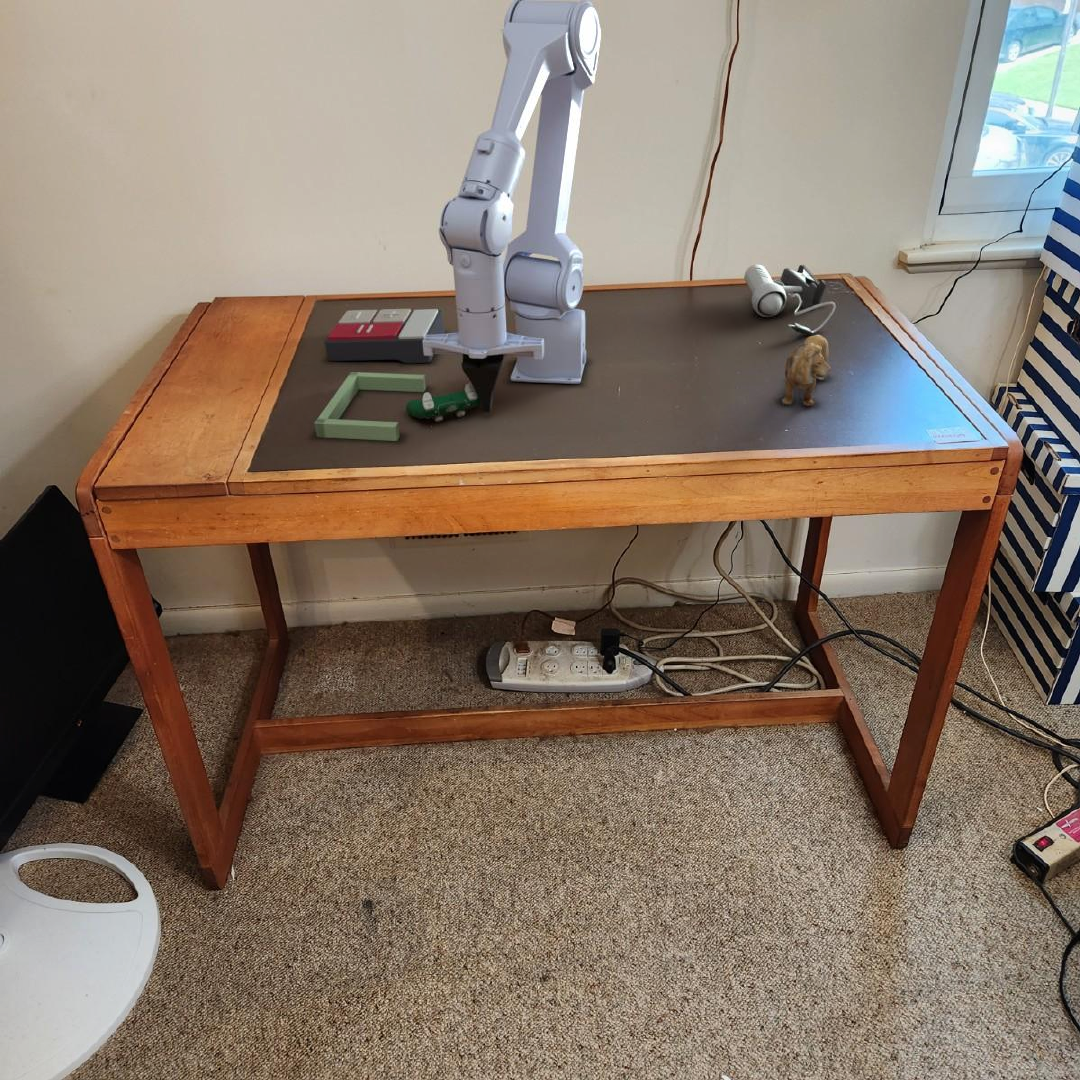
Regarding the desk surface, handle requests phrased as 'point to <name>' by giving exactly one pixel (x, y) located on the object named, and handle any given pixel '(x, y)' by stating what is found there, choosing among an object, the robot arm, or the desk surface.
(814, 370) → the lion figurine
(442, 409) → the gaming controller
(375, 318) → the calculator
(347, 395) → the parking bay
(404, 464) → the desk surface
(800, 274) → the clip-on lamp
